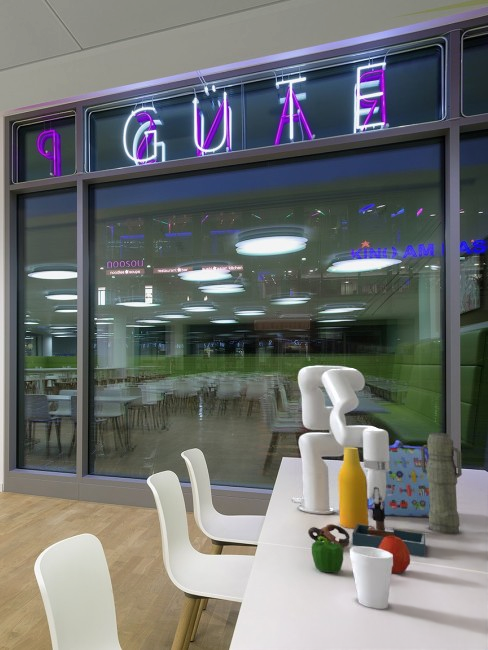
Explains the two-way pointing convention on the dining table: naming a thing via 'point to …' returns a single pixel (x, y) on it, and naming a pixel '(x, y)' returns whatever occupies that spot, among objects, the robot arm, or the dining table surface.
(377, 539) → the tray
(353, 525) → the beer bottle
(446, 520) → the thermos
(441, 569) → the dining table surface
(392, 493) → the lunch bag
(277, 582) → the dining table surface
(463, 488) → the dining table surface
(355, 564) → the foam cup
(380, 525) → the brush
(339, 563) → the bell pepper
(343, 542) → the brown twisted loop
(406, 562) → the apple
